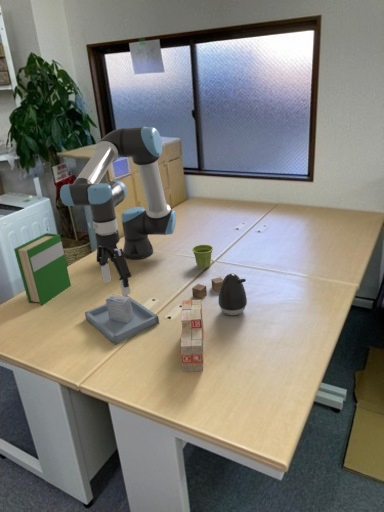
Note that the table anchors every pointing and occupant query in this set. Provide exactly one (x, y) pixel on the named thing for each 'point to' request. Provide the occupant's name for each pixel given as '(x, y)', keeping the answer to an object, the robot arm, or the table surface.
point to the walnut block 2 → (217, 283)
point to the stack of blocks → (192, 336)
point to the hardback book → (43, 268)
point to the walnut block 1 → (199, 291)
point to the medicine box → (119, 308)
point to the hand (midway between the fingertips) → (116, 287)
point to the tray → (119, 329)
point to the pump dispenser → (232, 295)
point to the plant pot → (203, 255)
